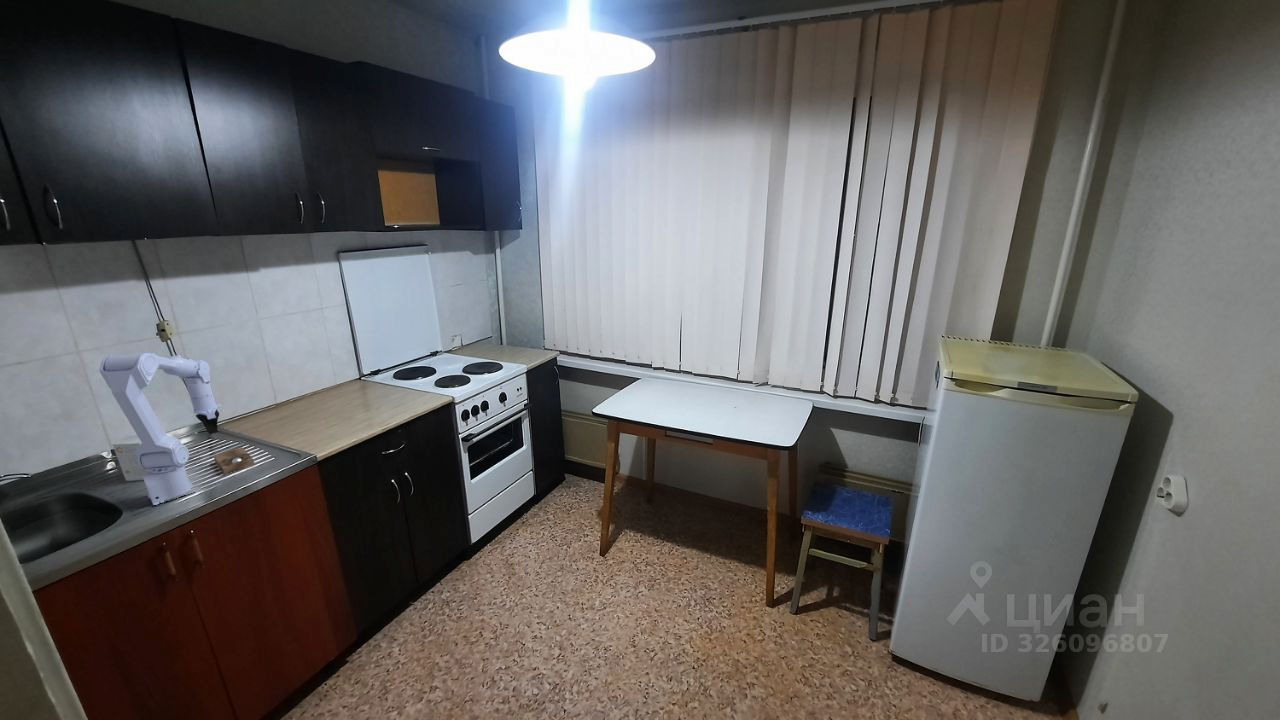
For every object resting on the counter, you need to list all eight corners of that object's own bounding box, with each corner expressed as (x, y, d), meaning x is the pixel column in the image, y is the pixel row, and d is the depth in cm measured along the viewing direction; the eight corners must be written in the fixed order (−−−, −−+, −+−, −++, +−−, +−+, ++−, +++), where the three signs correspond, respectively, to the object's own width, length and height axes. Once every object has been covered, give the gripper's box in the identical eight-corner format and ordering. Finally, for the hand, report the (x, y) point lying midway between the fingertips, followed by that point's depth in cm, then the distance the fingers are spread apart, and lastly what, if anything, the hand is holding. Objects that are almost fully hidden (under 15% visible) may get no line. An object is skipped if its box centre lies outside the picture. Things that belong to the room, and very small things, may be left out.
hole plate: (224, 475, 160) (222, 468, 159) (215, 462, 168) (213, 456, 167) (254, 465, 165) (253, 458, 165) (244, 453, 173) (242, 447, 173)
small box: (169, 469, 164) (156, 433, 160) (152, 480, 158) (139, 443, 154) (142, 471, 163) (129, 435, 159) (125, 481, 157) (111, 444, 153)
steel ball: (237, 454, 164) (234, 459, 166) (230, 460, 162) (227, 466, 163) (247, 458, 166) (244, 464, 167) (241, 465, 163) (237, 470, 164)
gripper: (222, 396, 162) (233, 434, 167) (211, 387, 171) (222, 423, 176) (194, 403, 157) (206, 442, 161) (185, 393, 166) (196, 430, 170)
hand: (213, 432), depth 168 cm, fingers closed
